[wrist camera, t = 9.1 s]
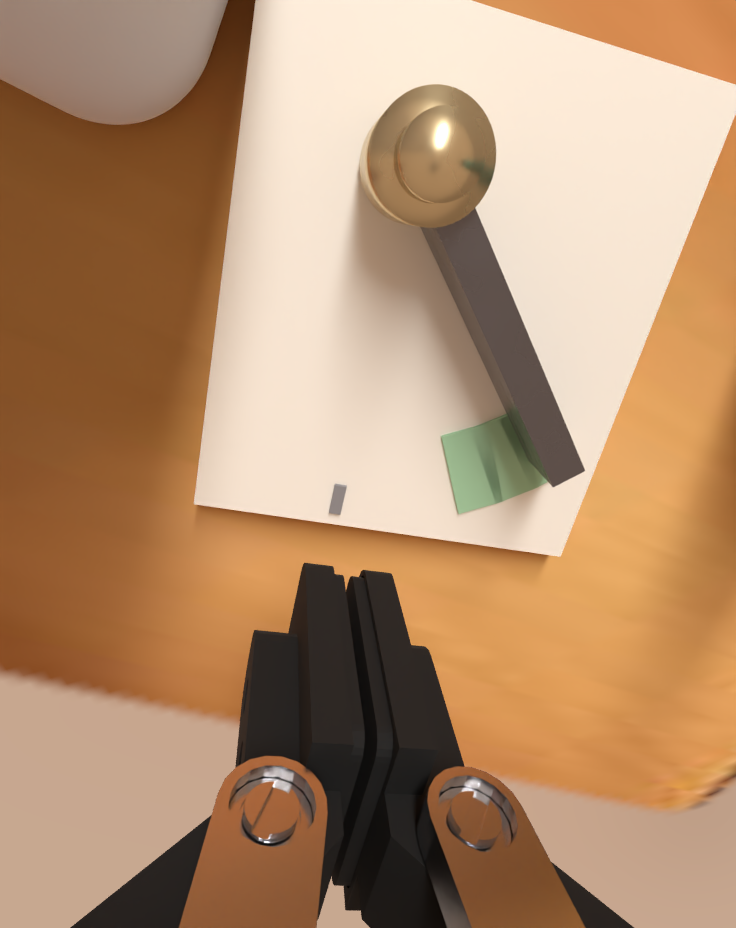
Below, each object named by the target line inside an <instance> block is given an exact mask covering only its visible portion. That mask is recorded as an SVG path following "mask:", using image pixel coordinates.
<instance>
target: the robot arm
mask: <svg viewBox="0 0 736 928" xmlns="http://www.w3.org/2000/svg"><path fill="white" fill-rule="evenodd" d="M331 876H332V881H333V884H334V885H340V886H344V896H345V910H361V915H362V920H363V921H364V922H365V923H366V924H367V925H368V926H369V927H370V928H634V927H632V926H631V925H630V924H629V923H627V922H626V921H625V920H624V919H622V918H621V917H620V916H619V915H617V914H616V913H615V912H613V911H612V910H611V909H610V908H609V907H607V906H606V905H605V904H604V903H602V902H601V901H600V900H598V899H597V898H596V897H595V896H593V895H592V894H591V893H590V892H588V891H587V890H586V889H585V888H583V887H582V886H581V885H580V884H578V883H577V882H576V881H574V880H573V879H572V878H571V877H569V876H568V875H567V874H566V873H565V872H563V871H562V870H561V869H559V868H558V867H557V866H556V865H554V864H553V863H552V862H551V861H550V859H549V857H548V855H547V853H546V851H545V849H544V847H543V846H542V844H541V842H540V840H539V838H538V836H537V834H536V832H535V830H534V828H533V826H532V824H531V823H530V821H529V819H528V817H527V815H526V813H525V811H524V809H523V807H522V806H521V804H520V803H519V801H518V800H517V798H516V797H515V795H514V794H513V793H512V791H510V789H508V788H507V787H506V786H505V785H504V784H503V783H502V782H501V781H500V780H498V779H497V778H495V777H493V776H492V775H490V774H488V773H487V772H484V771H481V770H478V769H475V768H472V767H464V763H463V760H462V757H461V753H460V750H459V747H458V744H457V740H456V737H455V734H454V730H453V727H452V724H451V720H450V717H449V714H448V710H447V707H446V704H445V701H444V697H443V694H442V691H441V687H440V684H439V681H438V677H437V674H436V671H435V668H434V664H433V661H432V658H431V655H430V653H429V650H428V649H427V648H426V647H424V646H413V645H411V643H410V639H409V636H408V632H407V628H406V624H405V621H404V617H403V613H402V609H401V606H400V602H399V598H398V594H397V591H396V587H395V583H394V579H393V576H392V574H390V573H384V572H376V571H367V570H363V571H361V573H360V576H359V577H353V576H351V577H350V579H349V582H348V586H347V590H345V582H344V577H343V575H336V574H334V568H333V566H326V565H318V564H309V563H304V564H303V567H302V571H301V576H300V580H299V585H298V590H297V595H296V599H295V604H294V609H293V614H292V618H291V623H290V628H289V633H279V632H268V631H258V630H254V633H253V637H252V642H251V648H250V653H249V659H248V665H247V671H246V677H245V684H244V691H243V699H242V707H241V717H240V727H239V738H238V748H237V758H236V768H235V769H234V770H233V771H232V772H231V773H230V774H229V775H228V776H227V777H226V778H225V780H224V782H223V784H222V786H221V788H220V790H219V793H218V795H217V799H216V802H215V806H214V809H213V813H212V815H211V816H210V817H209V818H207V819H206V820H205V821H204V822H202V823H201V824H200V825H198V827H196V828H195V829H193V830H192V831H191V832H190V833H188V834H187V835H186V836H185V837H183V838H182V839H181V840H180V841H179V842H177V843H176V844H175V845H173V846H172V847H171V848H170V849H169V850H167V851H166V852H165V853H163V854H162V855H161V856H160V857H158V858H157V859H156V860H155V861H153V862H152V863H151V864H150V865H149V866H147V867H146V868H145V869H143V870H142V871H141V872H140V873H138V874H137V875H136V876H135V877H133V878H132V879H131V880H130V881H128V882H127V883H126V884H125V885H123V886H122V887H121V888H120V889H118V890H117V891H116V892H115V893H113V894H112V895H111V896H110V897H108V898H107V899H106V900H105V901H103V902H102V903H101V904H100V905H98V906H97V907H96V908H95V909H93V910H92V911H91V912H90V913H88V914H87V915H86V916H84V917H83V918H82V919H81V920H79V921H78V922H77V923H76V924H74V925H73V926H72V927H71V928H316V927H317V920H318V918H319V915H320V911H321V908H322V905H323V902H324V898H325V895H326V892H327V889H328V885H329V882H330V879H331Z"/></svg>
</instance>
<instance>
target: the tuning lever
mask: <svg viewBox="0 0 736 928" xmlns="http://www.w3.org/2000/svg"><path fill="white" fill-rule="evenodd" d="M495 164H496V142H495V137H494V132H493V129H492V126H491V124H490V121H489V119H488V117H487V115H486V114H485V112H484V111H483V109H482V108H481V107H480V105H479V104H478V103H477V102H476V101H475V100H474V99H473V98H472V97H471V96H469V95H468V94H466V93H465V92H463V91H461V90H459V89H457V88H455V87H451V86H448V85H441V84H429V85H424V86H420V87H417V88H414V89H412V90H410V91H408V92H406V93H404V94H403V95H401V96H400V97H399V98H397V99H396V100H395V101H394V102H393V103H392V104H391V105H390V106H389V107H388V108H387V110H386V111H385V112H384V113H383V114H382V115H381V116H380V118H379V119H378V120H377V121H376V122H375V123H374V125H373V126H372V127H371V129H370V130H369V132H368V134H367V136H366V138H365V140H364V143H363V146H362V150H361V155H360V177H361V182H362V185H363V189H364V191H365V193H366V195H367V197H368V199H369V201H370V202H371V204H372V205H373V206H374V207H375V208H376V209H377V210H378V212H380V213H381V214H382V215H383V216H385V217H386V218H388V219H390V220H392V221H394V222H397V223H401V224H405V225H412V226H418V227H420V228H421V230H422V232H423V234H424V236H425V238H426V241H427V243H428V245H429V247H430V249H431V251H432V254H433V256H434V258H435V260H436V262H437V264H438V266H439V269H440V271H441V273H442V275H443V277H444V279H445V282H446V284H447V286H448V288H449V290H450V292H451V295H452V297H453V299H454V301H455V303H456V305H457V308H458V310H459V312H460V314H461V316H462V318H463V320H464V323H465V325H466V327H467V329H468V331H469V333H470V336H471V338H472V340H473V342H474V344H475V346H476V349H477V351H478V353H479V355H480V357H481V359H482V362H483V364H484V366H485V368H486V370H487V372H488V374H489V377H490V379H491V381H492V383H493V385H494V387H495V390H496V392H497V394H498V396H499V398H500V400H501V403H502V405H503V407H504V409H505V411H506V413H507V416H508V418H509V420H510V422H511V424H512V426H513V428H514V431H515V433H516V435H517V437H518V439H519V441H520V444H521V446H522V448H523V450H524V452H525V454H526V457H527V459H528V461H529V462H530V463H531V464H532V465H533V466H534V467H535V468H536V469H537V470H538V472H539V473H540V474H541V475H542V476H543V477H544V478H545V479H546V480H547V482H548V483H549V484H550V485H551V486H552V487H555V486H557V485H559V484H561V483H563V482H565V481H567V480H569V479H571V478H573V477H575V476H577V475H579V474H581V473H582V472H584V471H585V469H584V466H583V464H582V462H581V459H580V457H579V454H578V452H577V450H576V447H575V445H574V442H573V440H572V438H571V435H570V433H569V431H568V428H567V426H566V423H565V421H564V419H563V416H562V414H561V411H560V409H559V407H558V404H557V402H556V399H555V397H554V395H553V392H552V390H551V388H550V385H549V383H548V380H547V378H546V376H545V373H544V371H543V368H542V366H541V364H540V361H539V359H538V356H537V354H536V352H535V349H534V347H533V344H532V342H531V340H530V337H529V335H528V333H527V330H526V328H525V325H524V323H523V321H522V318H521V316H520V313H519V311H518V309H517V306H516V304H515V301H514V299H513V297H512V294H511V292H510V290H509V287H508V285H507V282H506V280H505V278H504V275H503V273H502V270H501V268H500V266H499V263H498V261H497V258H496V256H495V254H494V251H493V249H492V246H491V244H490V242H489V239H488V237H487V235H486V232H485V230H484V227H483V225H482V223H481V220H480V218H479V215H478V213H477V211H476V208H475V207H476V206H477V205H478V204H479V203H480V201H481V200H482V199H483V197H484V196H485V194H486V192H487V190H488V188H489V186H490V183H491V181H492V178H493V174H494V170H495Z"/></svg>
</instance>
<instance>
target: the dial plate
mask: <svg viewBox="0 0 736 928" xmlns="http://www.w3.org/2000/svg"><path fill="white" fill-rule="evenodd" d="M429 84H441V85H448V86H451V87H455V88H457V89H459V90H461V91H463V92H465V93H466V94H468V95H469V96H471V97H472V98H473V99H474V100H475V101H476V102H477V103H478V104H479V105H480V107H481V108H482V109H483V111H484V112H485V114H486V115H487V117H488V119H489V121H490V124H491V126H492V129H493V132H494V137H495V142H496V164H495V170H494V174H493V178H492V181H491V183H490V186H489V188H488V190H487V192H486V194H485V196H484V197H483V199H482V200H481V201H480V203H479V204H478V205H477V206H476V207H475V208H476V211H477V213H478V215H479V218H480V220H481V223H482V225H483V227H484V230H485V232H486V235H487V237H488V239H489V242H490V244H491V246H492V249H493V251H494V254H495V256H496V258H497V261H498V263H499V266H500V268H501V270H502V273H503V275H504V278H505V280H506V282H507V285H508V287H509V290H510V292H511V294H512V297H513V299H514V301H515V304H516V306H517V309H518V311H519V313H520V316H521V318H522V321H523V323H524V325H525V328H526V330H527V333H528V335H529V337H530V340H531V342H532V344H533V347H534V349H535V352H536V354H537V356H538V359H539V361H540V364H541V366H542V368H543V371H544V373H545V376H546V378H547V380H548V383H549V385H550V388H551V390H552V392H553V395H554V397H555V399H556V402H557V404H558V407H559V409H560V411H561V414H562V416H563V419H564V421H565V423H566V426H567V428H568V431H569V433H570V435H571V438H572V440H573V442H574V445H575V447H576V450H577V452H578V454H579V457H580V459H581V462H582V464H583V466H584V469H585V471H584V472H582V473H581V474H579V475H577V476H575V477H573V478H571V479H569V480H567V481H565V482H563V483H561V484H559V485H557V486H555V487H552V486H551V485H550V484H549V483H548V482H547V480H546V479H545V478H544V477H543V476H542V475H541V474H540V473H539V472H538V470H537V469H536V468H535V467H534V466H533V465H532V464H531V463H530V462H529V461H528V459H527V457H526V454H525V452H524V450H523V448H522V446H521V444H520V441H519V439H518V437H517V435H516V433H515V431H514V428H513V426H512V424H511V422H510V420H509V418H508V416H507V413H506V411H505V409H504V407H503V405H502V403H501V400H500V398H499V396H498V394H497V392H496V390H495V387H494V385H493V383H492V381H491V379H490V377H489V374H488V372H487V370H486V368H485V366H484V364H483V362H482V359H481V357H480V355H479V353H478V351H477V349H476V346H475V344H474V342H473V340H472V338H471V336H470V333H469V331H468V329H467V327H466V325H465V323H464V320H463V318H462V316H461V314H460V312H459V310H458V308H457V305H456V303H455V301H454V299H453V297H452V295H451V292H450V290H449V288H448V286H447V284H446V282H445V279H444V277H443V275H442V273H441V271H440V269H439V266H438V264H437V262H436V260H435V258H434V256H433V254H432V251H431V249H430V247H429V245H428V243H427V241H426V238H425V236H424V234H423V232H422V230H421V228H420V227H418V226H412V225H405V224H401V223H397V222H394V221H392V220H390V219H388V218H386V217H385V216H383V215H382V214H381V213H380V212H378V210H377V209H376V208H375V207H374V206H373V205H372V204H371V202H370V201H369V199H368V197H367V195H366V193H365V191H364V189H363V185H362V182H361V177H360V155H361V150H362V146H363V143H364V140H365V138H366V136H367V134H368V132H369V130H370V129H371V127H372V126H373V125H374V123H375V122H376V121H377V120H378V119H379V118H380V116H381V115H382V114H383V113H384V112H385V111H386V110H387V108H388V107H389V106H390V105H391V104H392V103H393V102H394V101H395V100H396V99H397V98H399V97H400V96H401V95H403V94H404V93H406V92H408V91H410V90H412V89H414V88H417V87H420V86H424V85H429ZM735 114H736V85H735V84H732V83H729V82H725V81H722V80H719V79H716V78H713V77H710V76H707V75H703V74H700V73H697V72H694V71H691V70H688V69H685V68H682V67H678V66H675V65H672V64H669V63H666V62H663V61H660V60H656V59H653V58H650V57H647V56H644V55H641V54H638V53H634V52H631V51H628V50H625V49H622V48H619V47H616V46H613V45H609V44H606V43H603V42H600V41H597V40H594V39H591V38H587V37H584V36H581V35H578V34H575V33H572V32H569V31H566V30H562V29H559V28H556V27H553V26H550V25H547V24H544V23H540V22H537V21H534V20H531V19H528V18H525V17H522V16H519V15H515V14H512V13H509V12H506V11H503V10H500V9H497V8H493V7H490V6H487V5H484V4H481V3H478V2H475V1H471V0H255V9H254V17H253V25H252V33H251V41H250V49H249V57H248V66H247V74H246V82H245V90H244V98H243V106H242V115H241V123H240V131H239V139H238V147H237V155H236V164H235V172H234V180H233V188H232V196H231V204H230V213H229V221H228V229H227V237H226V245H225V253H224V262H223V270H222V278H221V286H220V294H219V302H218V311H217V319H216V327H215V335H214V343H213V351H212V359H211V368H210V376H209V384H208V392H207V400H206V408H205V417H204V425H203V433H202V441H201V449H200V457H199V466H198V474H197V482H196V490H195V498H194V504H196V505H203V506H210V507H217V508H224V509H231V510H238V511H245V512H252V513H259V514H266V515H273V516H280V517H287V518H294V519H301V520H308V521H315V522H322V523H329V524H335V525H342V526H349V527H356V528H363V529H370V530H377V531H384V532H391V533H398V534H405V535H412V536H419V537H426V538H433V539H440V540H447V541H454V542H461V543H468V544H475V545H482V546H489V547H496V548H503V549H510V550H517V551H524V552H531V553H538V554H545V555H552V556H559V557H560V556H561V554H562V551H563V549H564V546H565V544H566V541H567V539H568V536H569V534H570V531H571V529H572V526H573V524H574V521H575V518H576V516H577V513H578V511H579V508H580V506H581V503H582V501H583V498H584V496H585V493H586V491H587V488H588V486H589V483H590V481H591V478H592V475H593V473H594V470H595V468H596V465H597V463H598V460H599V458H600V455H601V453H602V450H603V448H604V445H605V443H606V440H607V438H608V435H609V432H610V430H611V427H612V425H613V422H614V420H615V417H616V415H617V412H618V410H619V407H620V405H621V402H622V400H623V397H624V395H625V392H626V390H627V387H628V384H629V382H630V379H631V377H632V374H633V372H634V369H635V367H636V364H637V362H638V359H639V357H640V354H641V352H642V349H643V347H644V344H645V341H646V339H647V336H648V334H649V331H650V329H651V326H652V324H653V321H654V319H655V316H656V314H657V311H658V309H659V306H660V304H661V301H662V298H663V296H664V293H665V291H666V288H667V286H668V283H669V281H670V278H671V276H672V273H673V271H674V268H675V266H676V263H677V261H678V258H679V256H680V253H681V250H682V248H683V245H684V243H685V240H686V238H687V235H688V233H689V230H690V228H691V225H692V223H693V220H694V218H695V215H696V213H697V210H698V207H699V205H700V202H701V200H702V197H703V195H704V192H705V190H706V187H707V185H708V182H709V180H710V177H711V175H712V172H713V170H714V167H715V164H716V162H717V159H718V157H719V154H720V152H721V149H722V147H723V144H724V142H725V139H726V137H727V134H728V132H729V129H730V127H731V124H732V122H733V119H734V116H735Z"/></svg>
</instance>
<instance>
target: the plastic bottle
mask: <svg viewBox="0 0 736 928" xmlns="http://www.w3.org/2000/svg"><path fill="white" fill-rule="evenodd" d="M227 2H228V0H0V79H1V80H3V81H5V82H7V83H9V84H11V85H13V86H15V87H16V88H18V89H20V90H22V91H24V92H26V93H28V94H30V95H32V96H34V97H36V98H38V99H40V100H42V101H44V102H46V103H48V104H50V105H52V106H54V107H56V108H58V109H60V110H62V111H64V112H66V113H68V114H71V115H73V116H75V117H78V118H81V119H84V120H88V121H92V122H96V123H102V124H110V125H125V124H134V123H139V122H143V121H147V120H150V119H153V118H155V117H157V116H159V115H161V114H163V113H165V112H166V111H168V110H170V109H171V108H173V107H174V106H175V105H176V104H178V103H179V102H180V101H181V100H182V99H183V98H184V97H185V96H186V95H187V94H188V93H189V92H190V91H191V89H192V88H193V87H194V86H195V84H196V83H197V81H198V79H199V78H200V76H201V74H202V73H203V71H204V69H205V67H206V64H207V62H208V59H209V56H210V54H211V51H212V48H213V45H214V42H215V39H216V36H217V33H218V30H219V27H220V24H221V21H222V18H223V15H224V12H225V8H226V5H227Z"/></svg>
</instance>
